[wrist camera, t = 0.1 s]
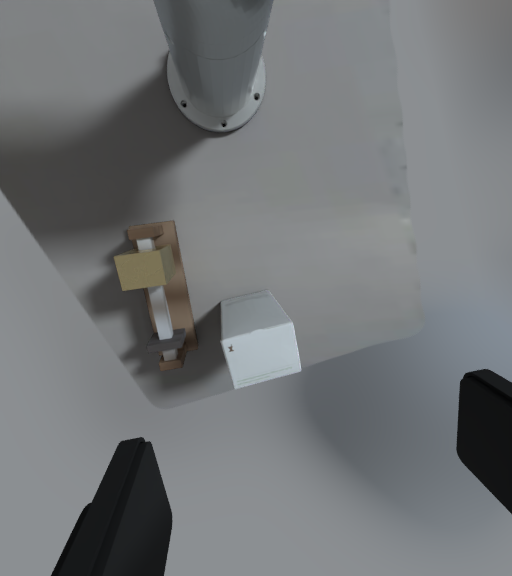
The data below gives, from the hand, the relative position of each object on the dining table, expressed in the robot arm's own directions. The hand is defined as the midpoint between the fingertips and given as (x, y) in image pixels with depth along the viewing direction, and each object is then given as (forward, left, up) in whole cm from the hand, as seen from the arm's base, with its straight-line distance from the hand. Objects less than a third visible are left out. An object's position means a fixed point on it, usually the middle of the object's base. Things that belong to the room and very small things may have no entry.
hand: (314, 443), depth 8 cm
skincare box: (+9, 0, -37) cm, 38 cm away
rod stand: (+3, -12, -37) cm, 39 cm away
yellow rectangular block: (-2, -12, -33) cm, 35 cm away
